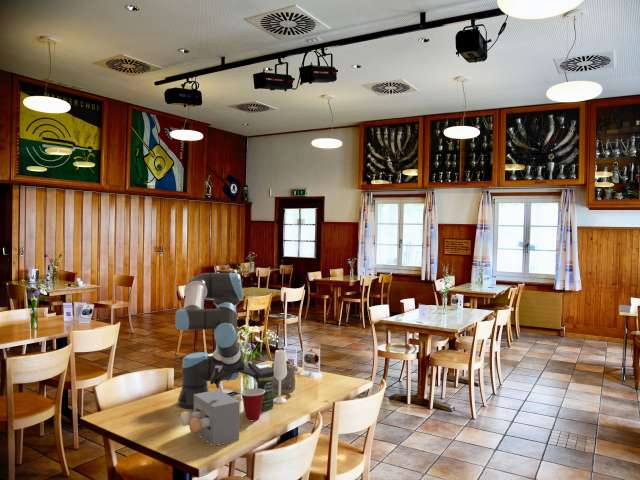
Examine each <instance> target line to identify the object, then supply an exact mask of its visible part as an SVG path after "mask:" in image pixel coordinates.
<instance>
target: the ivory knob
mask: <svg viewBox="0 0 640 480" xmlns="http://www.w3.org/2000/svg"><path fill="white" fill-rule="evenodd" d="M196 417H198V418H199V419H201V411H197V412H194V411H192V412H190V410H187V411H182V412H180V417H179V419H180V424H181V425H182V426H183V427H185V426H189V421H190V419H192V418H196Z"/></svg>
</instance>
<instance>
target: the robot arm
mask: <svg viewBox="0 0 640 480" xmlns="http://www.w3.org/2000/svg"><path fill="white" fill-rule="evenodd" d="M183 290H184V291H183V293H184V297H185V298H184V304H183V308H181V309H177V310H176V312H175V319H174V320H175V321H174V323H175V329H176V330H178V331H181V330H182V331H195V330H196V331H199V330H201V331H202V330H203V331H204V330H207V331H208V330H214V331H213V335H214V342H215V350H214V351H213V352H212V355H209V353H208V352H205V351H204V352H203V351H200V352H198V351H197V352H192V353H189V354H187V355H185V356H184V357H183V358H182V366H181V368H182V369H181V370H182V372H181V373H182V376H181V378H182V379H181V389H180V392H179V396H178V398H177V406H178V407H179V408H180V409H181V408H182V409H186V410H187V409H188V410H194V394H198V393H203V392H208V391H209V387H208V383H209V384H210V385H215V386H216V389H219V390H220V391H221V394H223V392H224V386H223V382H222V381H226V382H230V381H235V380H237V379H238V378H239V375H240V373H241V374H242V375H244V374H245V375H247V376H249V377H251V378H252V379H253V385H254V384H255V388H256V389H258V388H257V382H259V377H262V376H263V374H262V370H261V369H260V368H261V367H259V366H257V365H256V364H255V363H254V362H253V361H252V359H251V358H249V359H248V360H247V361H243V357H242V351H241V348H240V345H239V340H238V324H237V323H238V314H237V305H238V304H240V300H242V299H243V298H244V297H243V285H242V277H241V275H240V274H239V273H237V272H235V273H234V272H204V273H203V272H202V273H199V274H198V275H195V276H193V277H192V278H191V279H190V280H189V281H187V283H186V284H185V287H184V289H183ZM205 300H213V304H214V305H215V306H216V308H204V304H205Z"/></svg>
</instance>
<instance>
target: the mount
mask: <svg viewBox="0 0 640 480" xmlns="http://www.w3.org/2000/svg"><path fill="white" fill-rule="evenodd" d="M240 403H241V402H240V400H238V399H237V398H234V397H233V396H231V395H229V394H227V393H225V392H224V391H223V394H221V391H220V389H214V390H210V391H208V392H203V393H198V394H194V409H193V412H197V411H201V419H203V418H208V417H210V418H211V426H210V427H205V428H201V430H200V431H199V432H195V434H196V433H197V434H198V435H197V434H196V435H197V436H198V437H200V436H201V437H202V439H203V440H204V439H205V440H206V441H208V442H209V443H210V444H212V445H213V446H212V447H215V446H214V445H217V446H219V445H218V444H221V445H224V444H223V443H225V444H228V443H231V441H232V442H235V441H238V440H240ZM201 437H200V438H201ZM205 440H204V441H205ZM206 441H205V442H206ZM208 442H207V443H208ZM227 442H228V443H227ZM209 443H208V444H209ZM210 444H209V445H210Z"/></svg>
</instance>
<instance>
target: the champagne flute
mask: <svg viewBox="0 0 640 480" xmlns="http://www.w3.org/2000/svg"><path fill="white" fill-rule="evenodd" d="M286 361H287V356H286V350H285V349H276V350H275V353H274V361H273V362H274V377H275V378H276V379H277V380H279V392H278V393H277V394H278V395H277V397H275V398H273V403H278V404H279V403H280V404H283V403H285V402H287V399H286V398H284V397H283V396H282V393H281V380H283V379H284V378H285V377H286V375H287V367H286Z"/></svg>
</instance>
